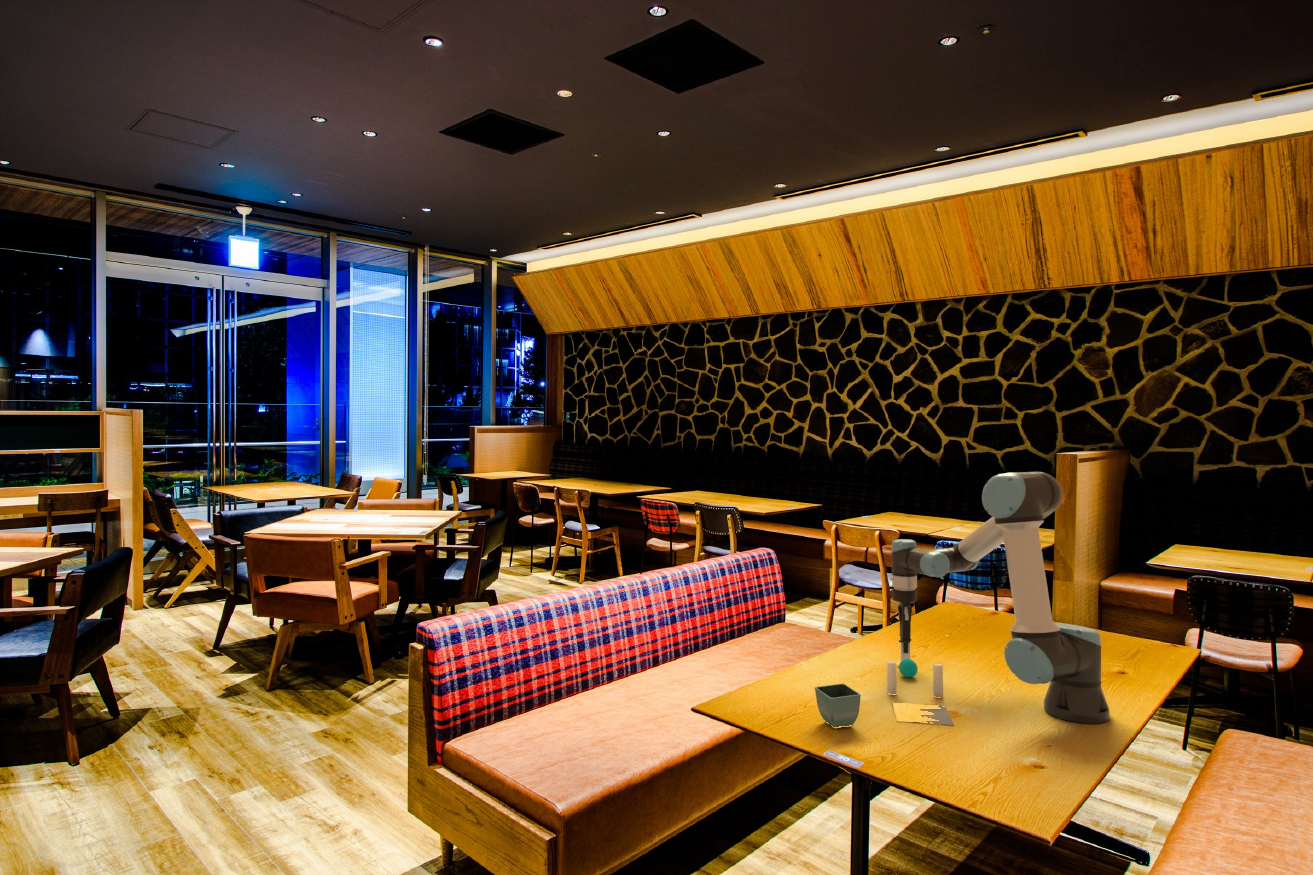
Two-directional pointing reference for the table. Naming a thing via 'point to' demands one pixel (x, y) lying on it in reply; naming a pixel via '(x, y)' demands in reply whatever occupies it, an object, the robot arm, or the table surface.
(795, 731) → the table surface
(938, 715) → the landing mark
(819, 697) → the flower pot
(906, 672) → the ball
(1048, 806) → the table surface
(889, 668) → the left post
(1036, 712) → the table surface
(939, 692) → the right post
